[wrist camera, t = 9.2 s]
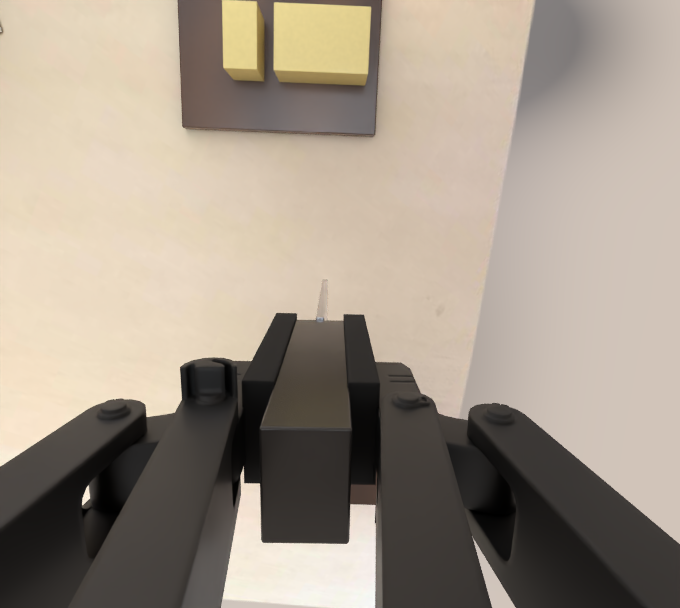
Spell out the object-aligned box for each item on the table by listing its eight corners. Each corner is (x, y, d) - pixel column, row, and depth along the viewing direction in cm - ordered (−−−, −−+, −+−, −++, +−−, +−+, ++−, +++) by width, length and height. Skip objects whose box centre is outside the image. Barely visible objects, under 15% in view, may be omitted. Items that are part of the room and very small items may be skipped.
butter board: (382, -23, 36) (383, -29, 35) (374, 136, 39) (375, 135, 38) (180, -32, 36) (175, -39, 35) (186, 128, 39) (182, 127, 38)
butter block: (368, 24, 36) (371, 6, 33) (365, 85, 37) (368, 74, 34) (279, 20, 36) (273, 1, 33) (279, 82, 37) (273, 70, 34)
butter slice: (264, 19, 36) (256, 1, 32) (264, 81, 37) (257, 69, 34) (232, 18, 36) (221, -1, 32) (233, 80, 37) (223, 68, 33)
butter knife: (342, 279, 24) (353, 424, 9) (340, 330, 25) (349, 549, 9) (308, 278, 24) (258, 422, 9) (307, 329, 25) (261, 548, 9)
